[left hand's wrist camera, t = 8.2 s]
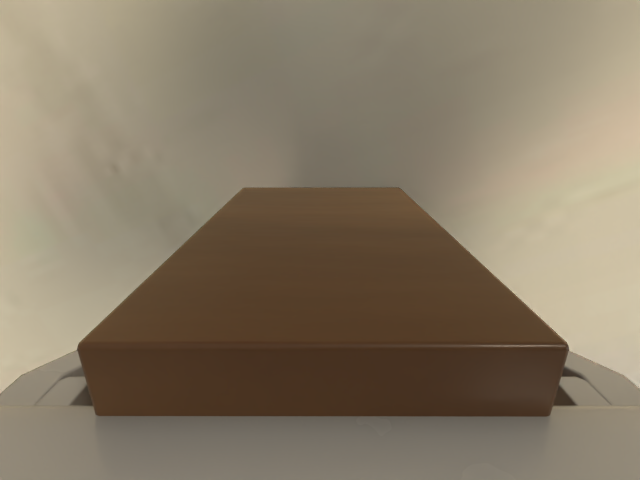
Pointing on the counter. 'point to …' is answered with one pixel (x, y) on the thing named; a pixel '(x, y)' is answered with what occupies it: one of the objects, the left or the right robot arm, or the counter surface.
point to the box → (322, 319)
